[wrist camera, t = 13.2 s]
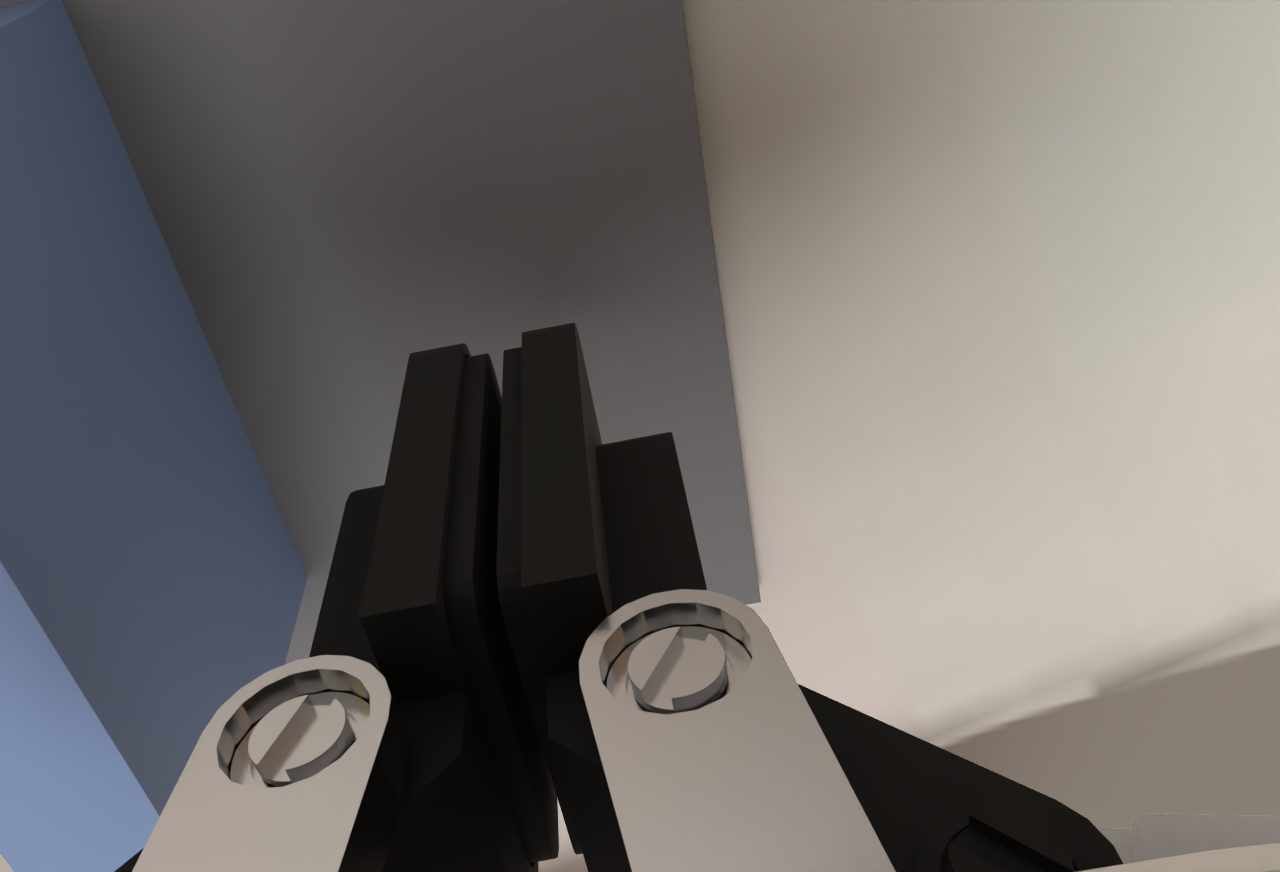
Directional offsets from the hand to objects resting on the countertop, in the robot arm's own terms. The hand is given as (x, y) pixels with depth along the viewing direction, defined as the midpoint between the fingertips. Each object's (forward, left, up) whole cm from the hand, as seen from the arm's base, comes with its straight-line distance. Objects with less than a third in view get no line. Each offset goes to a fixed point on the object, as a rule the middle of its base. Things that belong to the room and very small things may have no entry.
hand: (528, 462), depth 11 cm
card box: (+5, 0, -5) cm, 7 cm away
